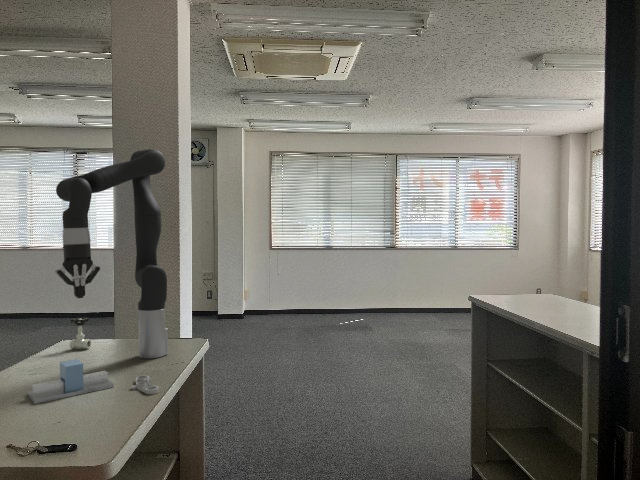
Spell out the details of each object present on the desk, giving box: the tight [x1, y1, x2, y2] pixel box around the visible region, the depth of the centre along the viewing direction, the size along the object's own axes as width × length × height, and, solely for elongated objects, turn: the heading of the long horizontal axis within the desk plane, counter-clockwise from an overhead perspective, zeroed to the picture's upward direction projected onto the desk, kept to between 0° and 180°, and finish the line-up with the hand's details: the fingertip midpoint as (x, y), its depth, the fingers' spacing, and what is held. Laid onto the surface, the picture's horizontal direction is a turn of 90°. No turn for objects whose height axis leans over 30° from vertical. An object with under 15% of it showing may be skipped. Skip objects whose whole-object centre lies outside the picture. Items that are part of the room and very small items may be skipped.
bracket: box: [131, 374, 159, 395], centre depth 136 cm, size 8×2×15 cm
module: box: [59, 358, 84, 392], centre depth 133 cm, size 4×7×7 cm
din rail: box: [27, 370, 115, 405], centre depth 133 cm, size 20×10×4 cm, turn 131°
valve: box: [69, 316, 92, 350], centre depth 181 cm, size 7×7×12 cm
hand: (79, 297), depth 145 cm, fingers closed
